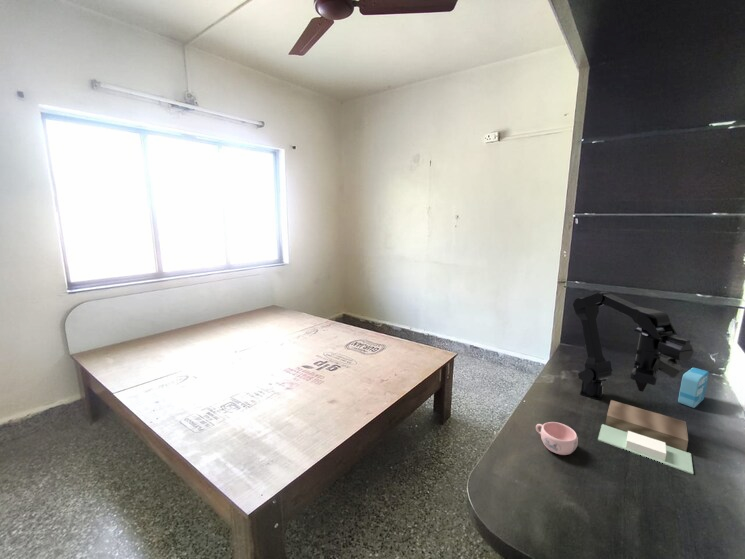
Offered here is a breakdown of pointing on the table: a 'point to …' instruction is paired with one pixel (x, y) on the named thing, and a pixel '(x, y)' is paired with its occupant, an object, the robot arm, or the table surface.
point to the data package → (693, 387)
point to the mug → (558, 437)
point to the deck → (648, 424)
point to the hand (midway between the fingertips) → (640, 390)
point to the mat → (672, 459)
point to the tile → (646, 445)
